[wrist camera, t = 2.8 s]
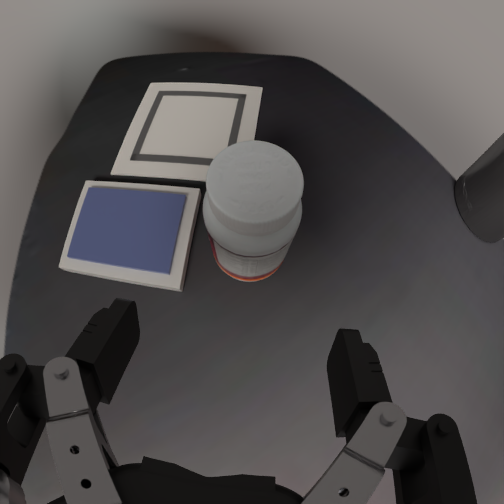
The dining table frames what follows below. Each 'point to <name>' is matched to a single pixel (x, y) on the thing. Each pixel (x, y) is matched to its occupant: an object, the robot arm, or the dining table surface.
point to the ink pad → (132, 233)
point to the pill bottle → (252, 208)
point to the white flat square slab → (186, 129)
